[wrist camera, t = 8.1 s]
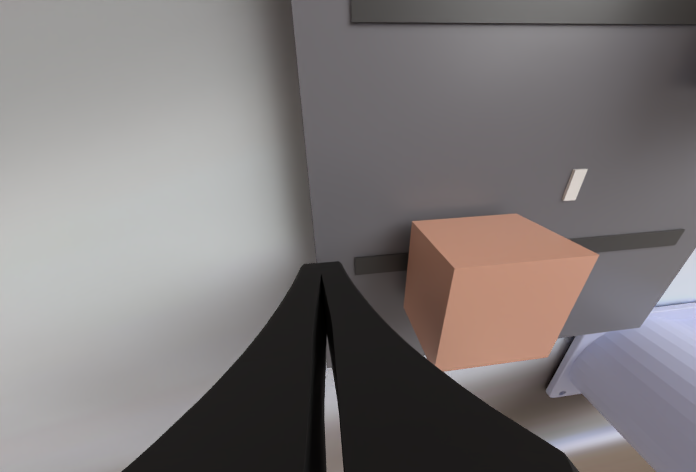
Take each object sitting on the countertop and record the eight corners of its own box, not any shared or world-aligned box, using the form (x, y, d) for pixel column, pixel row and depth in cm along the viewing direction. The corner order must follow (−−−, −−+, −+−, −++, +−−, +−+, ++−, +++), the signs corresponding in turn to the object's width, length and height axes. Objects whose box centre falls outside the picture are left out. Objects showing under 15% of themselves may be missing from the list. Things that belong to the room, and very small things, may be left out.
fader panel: (956, -265, 7) (1134, -370, 5) (611, 309, 16) (641, 328, 14) (257, -375, 5) (233, -580, 3) (325, 343, 14) (327, 369, 12)
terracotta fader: (516, 213, 9) (599, 255, 6) (490, 297, 11) (547, 357, 8) (411, 221, 9) (454, 268, 6) (403, 307, 11) (433, 373, 8)
